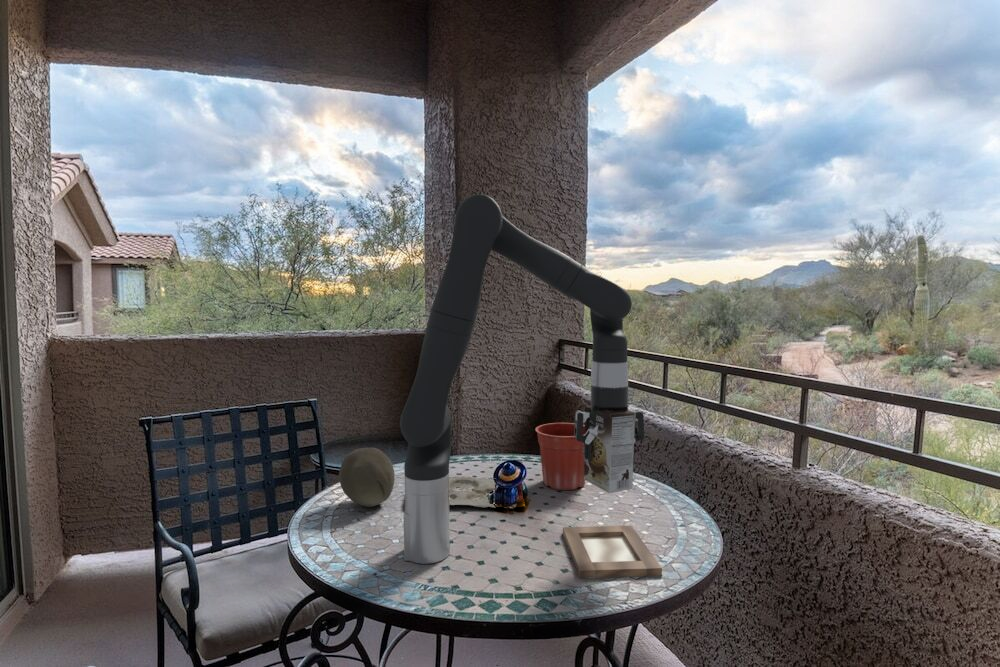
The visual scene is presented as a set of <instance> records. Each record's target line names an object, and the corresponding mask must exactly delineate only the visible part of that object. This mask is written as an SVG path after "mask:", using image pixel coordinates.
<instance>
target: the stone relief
mask: <svg viewBox="0 0 1000 667" xmlns="http://www.w3.org/2000/svg"><path fill="white" fill-rule="evenodd" d="M493 479H494V478H486V477H480V478H479V477H469V476H449V497H450V498H449V506H455V505H456V506H457V505H459V506H460V505H461V506H473V507H476V508H488V507H490V508H496V507H495V506H494V505H493V504H490V503H489V500H488V497H489V496H487V495H488V494H491V493H490V492H492V491H493V490H494V488H495V483H494V480H493ZM455 487H459V491H458V490H456V489H455ZM470 488H471V489H472V490H470ZM453 489H455V490H453ZM460 490H461V491H460Z"/></svg>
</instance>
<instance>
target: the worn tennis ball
mask: <svg viewBox="0 0 1000 667" xmlns="http://www.w3.org/2000/svg"><path fill="white" fill-rule="evenodd" d="M338 472H339V473H338V478H339V483H340V488H341V490H342V491H343V493H344V494H345V496H347V498H349V500H351V501H352V502H353V503H355V504H358V505H359V506H362V507H367V508H373V507H375V506H378V505H380V504H382V503H384V502H385V501H387V500H388V499H389V497H390V496H391V494H392V492H393V489H394V484H395V479H396V476H395V468H394V465H393V463H392V461H391V459H390V458H389V457H388V455H387V454H386V453H384V451H383V450H381V449H379V448H376V447H361V448H360V447H359V448H357V449H354V450H352V451H351V452H350V453H348V454H347V455H346V456H345V458H344V459H343V460H342V462H341V465H340V468H339V471H338Z"/></svg>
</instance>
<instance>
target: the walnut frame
mask: <svg viewBox="0 0 1000 667" xmlns="http://www.w3.org/2000/svg"><path fill="white" fill-rule="evenodd" d="M562 535H563V538H564V541H565V543H566V546H567V549H568V551H569V554H570V556H571V559H572V561H573V565H574V566H575V569H576V572H577V574H578V577H579V579H593V578H595V579H599V578H622V577H623V578H627V577H629V578H630V577H656V576H657V577H662V576H663V568H662V566H661V565H660V563H659V562H658V561H657V559H656V558H655V555H653V553H652V551H651V550H650V549H649V548H648V546H647V545H646V544H645V542H644V540H643V539H642V538H641V536H640V535H639V534H638V532H637V531H636V530H635V528H634V527H633V525H631V524H630V525H602V526H599V525H598V526H565V527H564V526H563V527H562Z"/></svg>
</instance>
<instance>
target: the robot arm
mask: <svg viewBox="0 0 1000 667" xmlns="http://www.w3.org/2000/svg"><path fill="white" fill-rule="evenodd" d="M502 213H503V212H502V210H501V207H500V206H499V204H498V202H496V201H495V199H493V198H492V197H491V196H489V195H487V194H482V193H480V194H479V193H477V194H473V195H470V196H468V197H466V198H465V199H464V200H463V201H462V202H461V203H460V204H459V206H458V208H457V210H456V212H455V217H454V218H455V219H454V228H453V233H452V238H451V239H452V240H451V245H450V251H449V256H448V259H447V263H446V266H445V268H444V272H443V274H442V277H441V279H440V282H439V284H438V286H437V287H438V288H437V290H436V293H435V296H434V300H433V303H432V305H431V309H430V313H429V317H428V320H427V324H426V329H425V334H424V337H423V343H422V346H421V351H420V356H419V361H418V367H417V370H416V374H415V378H414V380H413V384H412V386H411V388H410V392H409V395H408V397H407V400H406V403H405V405H404V408H403V409H402V411H401V412H402V413H401V416H400V420H399V428H400V431H401V434H402V437H403V438H404V440H405V441H406V442H407V453H406V457H405V460H404V464H403V465H404V469H403V470H404V471H403V472H404V513H403V516H402V517H403V519H402V520H403V561H408V562H409V561H410V562H411V563H417V564H422V565H423V564H424V565H425V564H426V565H429V564H434V563H439V562H440V561H441V562H442V561H443V560H445V559H446V558H448V556H449V555H450V552H451V551H450V549H451V548H450V547H451V546H450V545H451V540H450V539H451V537H450V535H451V534H450V533H451V532H450V531H451V529H450V524H451V523H450V505H449V500H450V498H449V477H450V461H451V454H452V415H451V411H450V408H449V406H448V400H449V395H450V391H451V387H452V384H453V381H454V378H455V376H456V375H457V372H458V369H459V367H460V365H461V364H462V362H463V359H464V357H465V355H466V352H467V350H468V348H469V345H470V342H471V339H472V335H473V332H474V329H475V324H476V321H477V317H478V313H479V308H480V307H479V306H480V303H481V302H480V301H481V296H482V287H483V286H482V285H483V278H484V273H485V268H486V266H487V262H488V259H489V256H490V254H491V252H495V253H497V254H498V255H501V256H503V257H505V258H506V259H509V260H511V262H513V263H515V264H516V265H518V266H520V267H522V268H523V269H524V270H526V271H527V272H529V273H530V274H532V275H534V276H535V278H537V279H538V280H540V281H542V282H543V283H544V284H546V285H548V286H549V287H550V288H552V289H554V290H555V291H557V292H559V294H561V295H562V294H563V296H565V297H568V299H571V300H574V301H578V302H579V303H581V304H582V305H584V306H586V307H587V308H589V314H590V315H589V316H590V323H591V324H590V325H591V333H592V357H591V358H592V360H591V361H592V362H591V363H592V365H591V368H590V369H591V371H590V373H591V374H590V405H591V409H590V411H589V412H585V411H581V410H576V411H575V413H574V416H575V417H574V424H575V429H574V437H575V438H576V440H577V441H580V442H583V456H584V458H585V459H586V460H587V462H591V452H592V445H591V442H592V440H593V439H594V437H596V436H597V435H598V431H597V430H598V425H596V427H595V428H594V429H592V428H590V429H588V431H587V432H586V434H585V435H582V434H583V425H584V424H585V422H586V419H587V418H588V417H589V418H590V419H591V420H592V422H593V423H594V424H596V412H597V410H628V411H629V409H628V408H629V369H628V339H627V337H626V335H625V333H624V327H623V324H624V323H623V322H624V320H623V319H624V318H626V317H627V316H628V315H629V314H630V312H631V310H632V299H631V296H630V293H628V292H627V291H626V289H624V288H623V287H622V286H620V285H619V284H617V283H615V282H613V281H611V280H609V279H607V278H606V277H604V276H601V275H599V274H597V273H594V272H593V271H591V270H590V269H588V268H587V267H586V266H585V265H583V264H581V263H580V262H578V261H576V260H575V259H573V258H572V257H571V256H568V255H567V254H565V253H563V252H562V251H560V250H558V249H556V248H554V247H552V246H550V245H548V244H546V243H544V242H542V241H540V240H538V239H536V238H533V237H532V236H530V235H528V234H527V233H525V232H524V231H522V230H520V229H519V228H517V226H515V225H514V224H512V223H511V222H510V220H508V219H507V218H506V217H505V216H503V214H502ZM632 412H635V426H634V446H635V444H636V442H638V441H644V439H645V426H644V425H645V424H644V423H645V422H644V413H643V412H642V411H641V410H639V409H635V410H632ZM634 458H635V456H634V457H633V459H634Z"/></svg>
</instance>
